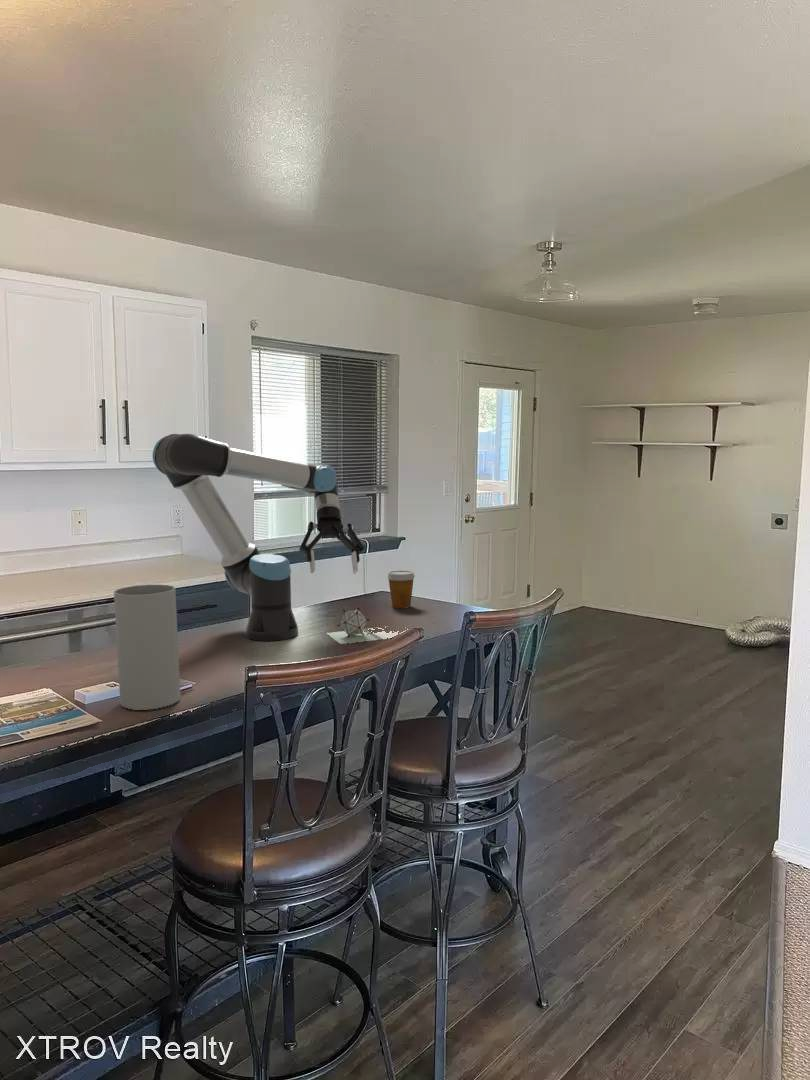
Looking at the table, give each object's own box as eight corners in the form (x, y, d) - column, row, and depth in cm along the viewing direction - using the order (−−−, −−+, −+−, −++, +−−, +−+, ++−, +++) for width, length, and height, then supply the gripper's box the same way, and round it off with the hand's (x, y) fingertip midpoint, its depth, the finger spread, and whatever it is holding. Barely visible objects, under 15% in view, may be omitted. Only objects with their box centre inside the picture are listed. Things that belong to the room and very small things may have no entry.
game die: (359, 649, 227) (367, 626, 221) (331, 639, 227) (339, 616, 221) (366, 628, 234) (375, 605, 228) (340, 618, 234) (347, 595, 228)
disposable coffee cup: (419, 605, 272) (419, 571, 270) (407, 610, 263) (406, 575, 262) (395, 603, 276) (395, 569, 275) (382, 608, 268) (382, 573, 266)
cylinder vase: (191, 701, 171) (186, 588, 168) (139, 716, 162) (133, 597, 159) (161, 690, 179) (155, 582, 176) (109, 703, 170) (103, 590, 167)
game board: (340, 644, 219) (340, 643, 219) (325, 633, 232) (325, 633, 232) (418, 635, 228) (418, 635, 228) (400, 625, 241) (400, 625, 241)
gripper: (361, 518, 256) (369, 577, 247) (286, 514, 247) (291, 575, 238) (368, 507, 250) (376, 567, 241) (292, 502, 240) (297, 565, 231)
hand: (334, 571), depth 239 cm, fingers open, 13 cm apart
